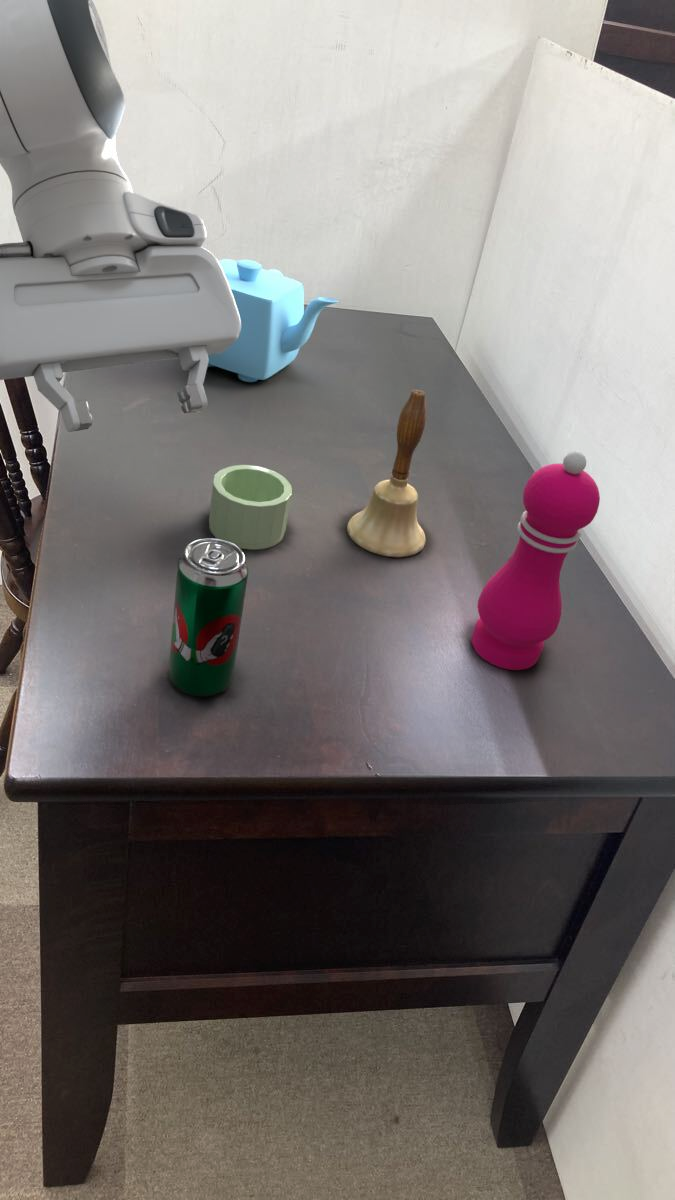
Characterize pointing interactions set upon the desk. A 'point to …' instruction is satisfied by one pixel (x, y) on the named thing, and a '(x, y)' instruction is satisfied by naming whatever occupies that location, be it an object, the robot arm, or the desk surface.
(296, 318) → the teapot
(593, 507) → the pepper mill
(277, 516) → the socket
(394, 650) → the desk surface
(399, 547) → the hand bell
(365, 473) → the desk surface
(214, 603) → the soda can
